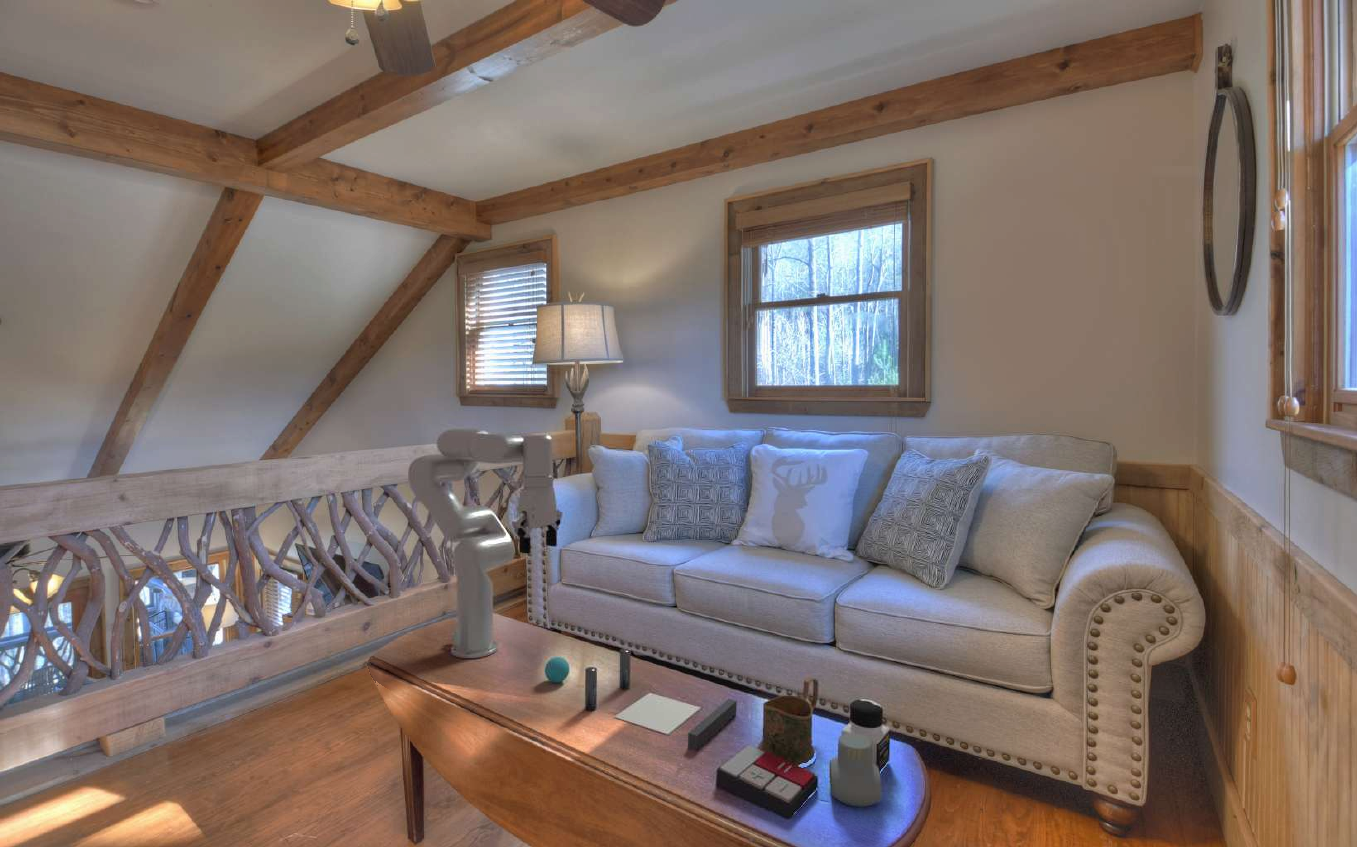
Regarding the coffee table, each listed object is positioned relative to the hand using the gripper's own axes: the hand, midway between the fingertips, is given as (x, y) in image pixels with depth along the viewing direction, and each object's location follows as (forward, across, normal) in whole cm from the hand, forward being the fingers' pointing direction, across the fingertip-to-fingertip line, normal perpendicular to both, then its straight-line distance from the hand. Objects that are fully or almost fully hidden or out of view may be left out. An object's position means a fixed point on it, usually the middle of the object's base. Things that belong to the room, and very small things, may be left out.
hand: (538, 549), depth 164 cm
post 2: (+32, -4, +24) cm, 40 cm away
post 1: (+32, +9, +24) cm, 41 cm away
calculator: (+34, +16, +70) cm, 79 cm away
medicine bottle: (+34, -1, +83) cm, 89 cm away
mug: (+33, 0, +69) cm, 77 cm away
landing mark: (+32, +2, +38) cm, 50 cm away
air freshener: (+34, +10, +84) cm, 91 cm away
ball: (+29, +2, +8) cm, 30 cm away
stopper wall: (+33, +3, +52) cm, 61 cm away
